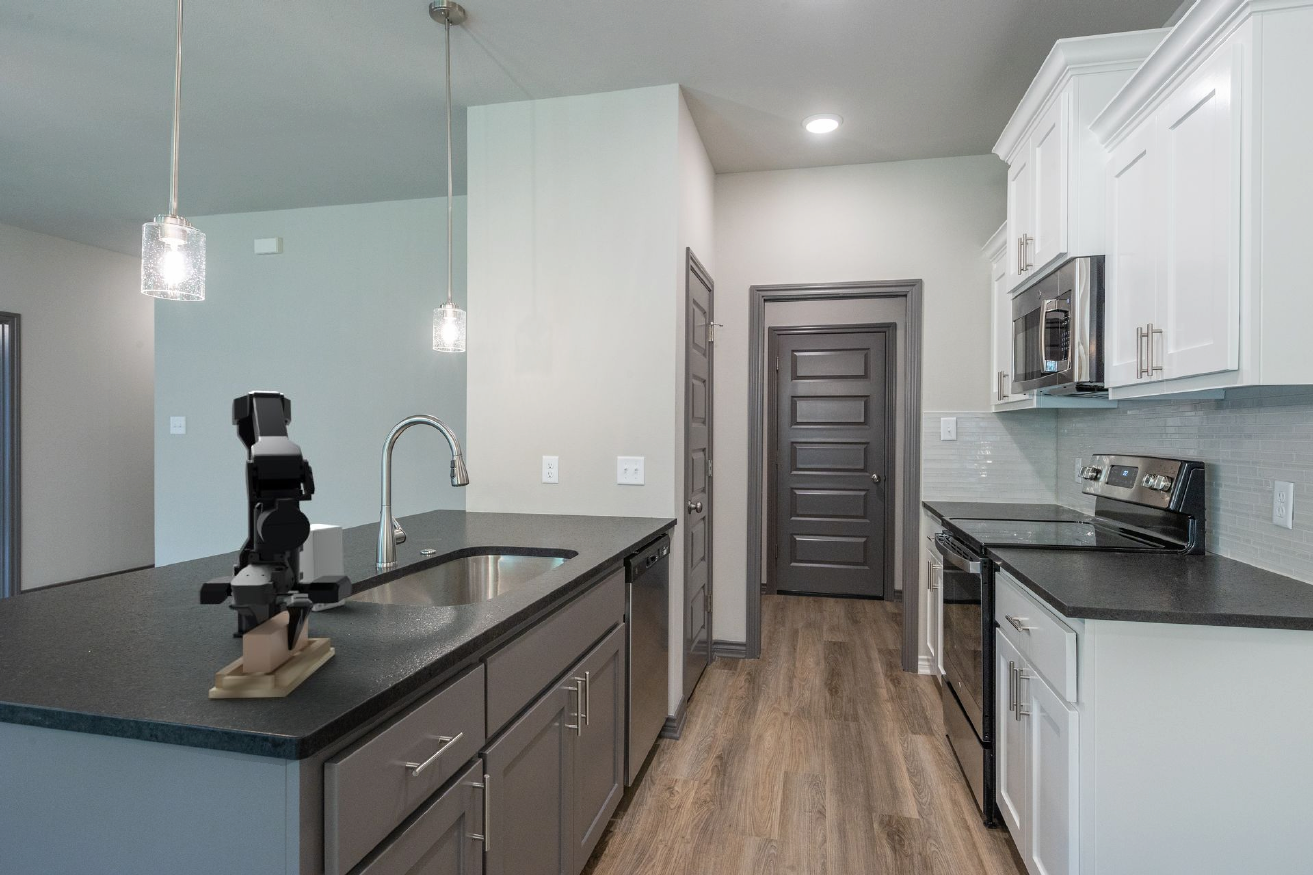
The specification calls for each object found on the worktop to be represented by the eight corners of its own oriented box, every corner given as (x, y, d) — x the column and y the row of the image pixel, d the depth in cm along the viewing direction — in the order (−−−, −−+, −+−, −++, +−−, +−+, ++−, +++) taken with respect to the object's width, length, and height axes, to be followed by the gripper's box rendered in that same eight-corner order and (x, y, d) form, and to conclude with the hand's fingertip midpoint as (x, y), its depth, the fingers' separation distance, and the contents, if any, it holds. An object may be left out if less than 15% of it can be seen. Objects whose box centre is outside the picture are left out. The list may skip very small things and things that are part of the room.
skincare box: (345, 605, 137) (345, 526, 137) (313, 612, 132) (313, 530, 131) (320, 599, 142) (320, 522, 142) (288, 606, 136) (287, 526, 136)
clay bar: (242, 672, 94) (242, 635, 94) (283, 644, 106) (283, 611, 106) (270, 672, 94) (270, 635, 94) (307, 643, 106) (307, 610, 106)
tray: (208, 698, 91) (208, 676, 91) (270, 654, 108) (270, 636, 108) (285, 696, 92) (285, 675, 92) (334, 653, 109) (334, 635, 109)
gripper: (173, 550, 91) (173, 670, 91) (322, 550, 92) (322, 668, 93) (220, 536, 102) (220, 643, 102) (352, 536, 103) (352, 642, 104)
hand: (277, 649), depth 100 cm, fingers closed on clay bar, 3 cm apart
